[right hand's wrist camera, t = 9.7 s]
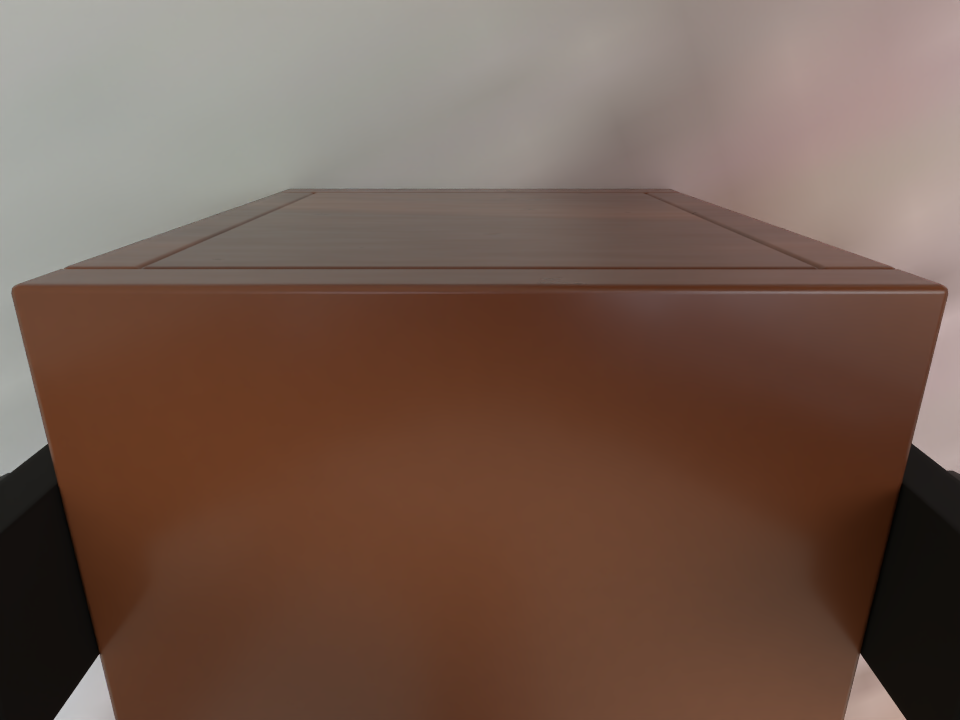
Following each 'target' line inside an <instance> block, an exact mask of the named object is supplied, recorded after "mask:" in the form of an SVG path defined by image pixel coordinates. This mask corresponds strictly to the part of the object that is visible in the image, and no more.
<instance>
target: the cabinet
mask: <svg viewBox="0 0 960 720" xmlns="http://www.w3.org/2000/svg"><path fill="white" fill-rule="evenodd" d="M947 296H948V289H947V288H946V287H945V286H943V285H941V284H939V283H936V282H933V281H930V280H927V279H924V278H921V277H919V276H916V275H913V274H910V273H907V272H904V271H901V270H899V269H895V268H893V267H891V266H888V265H885V264H882V263H879V262H877V261H874V260H871V259H868V258H865V257H862V256H860V255H857V254H854V253H851V252H848V251H845V250H842V249H840V248H837V247H834V246H831V245H828V244H825V243H822V242H820V241H817V240H814V239H811V238H808V237H805V236H802V235H800V234H797V233H794V232H791V231H788V230H785V229H782V228H780V227H777V226H774V225H771V224H768V223H765V222H762V221H760V220H757V219H754V218H751V217H748V216H745V215H742V214H740V213H737V212H734V211H731V210H728V209H725V208H722V207H720V206H717V205H714V204H711V203H708V202H705V201H702V200H700V199H697V198H694V197H691V196H688V195H685V194H682V193H680V192H677V191H674V190H671V189H288V190H285V191H282V192H280V193H277V194H274V195H271V196H268V197H265V198H262V199H260V200H257V201H254V202H251V203H248V204H245V205H242V206H239V207H237V208H234V209H231V210H228V211H225V212H222V213H219V214H217V215H214V216H211V217H208V218H205V219H202V220H199V221H196V222H194V223H191V224H188V225H185V226H182V227H179V228H176V229H174V230H171V231H168V232H165V233H162V234H159V235H156V236H153V237H151V238H148V239H145V240H142V241H139V242H136V243H133V244H131V245H128V246H125V247H122V248H119V249H116V250H113V251H110V252H108V253H105V254H102V255H99V256H96V257H93V258H90V259H88V260H85V261H82V262H79V263H76V264H73V265H70V266H68V267H66V268H64V269H60V270H57V271H54V272H51V273H49V274H46V275H43V276H40V277H37V278H34V279H31V280H29V281H26V282H23V283H20V284H18V285H15V286H14V287H13V288H12V298H13V302H14V306H15V310H16V314H17V318H18V322H19V326H20V330H21V334H22V339H23V343H24V347H25V351H26V355H27V359H28V363H29V367H30V371H31V375H32V380H33V384H34V388H35V392H36V396H37V400H38V404H39V408H40V412H41V416H42V420H43V425H44V429H45V433H46V437H47V441H48V445H49V449H50V453H51V457H52V461H53V465H54V470H55V474H56V478H57V482H58V486H59V490H60V494H61V498H62V502H63V506H64V511H65V515H66V519H67V523H68V527H69V531H70V535H71V539H72V543H73V547H74V551H75V556H76V560H77V564H78V568H79V572H80V576H81V580H82V584H83V588H84V592H85V596H86V601H87V605H88V609H89V613H90V617H91V621H92V625H93V629H94V633H95V637H96V641H97V646H98V650H99V654H100V658H101V662H102V666H103V670H104V674H105V678H106V682H107V687H108V691H109V695H110V699H111V703H112V707H113V711H114V715H115V719H116V720H844V717H845V713H846V708H847V704H848V700H849V696H850V692H851V688H852V684H853V680H854V676H855V672H856V668H857V664H858V659H859V655H860V651H861V647H862V643H863V639H864V635H865V631H866V627H867V623H868V619H869V615H870V611H871V606H872V602H873V598H874V594H875V590H876V586H877V582H878V578H879V574H880V570H881V566H882V562H883V558H884V553H885V549H886V545H887V541H888V537H889V533H890V529H891V525H892V521H893V517H894V513H895V509H896V504H897V500H898V496H899V492H900V488H901V484H902V480H903V476H904V472H905V468H906V464H907V460H908V456H909V451H910V447H911V443H912V439H913V435H914V431H915V427H916V423H917V419H918V415H919V411H920V407H921V402H922V398H923V394H924V390H925V386H926V382H927V378H928V374H929V370H930V366H931V362H932V358H933V354H934V349H935V345H936V341H937V337H938V333H939V329H940V325H941V321H942V317H943V313H944V309H945V305H946V300H947Z"/></svg>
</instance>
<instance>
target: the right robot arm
mask: <svg viewBox="0 0 960 720" xmlns="http://www.w3.org/2000/svg"><path fill="white" fill-rule="evenodd" d="M860 654H861V655H862V656H863V658H864V659H865V661H866V662H867V664H868V665H869V667H870V668H871V669H872V671H873V672H874V674H875V675H876V677H877V678H878V679H879V681H880V682H881V684H882V685H883V687H884V688H885V689H886V691H887V692H888V694H889V695H890V697H891V698H892V700H893V701H894V702H895V704H896V705H897V707H898V708H899V710H900V711H901V712H902V714H903V715H904V717H905V718H906V720H960V474H958V473H956V472H954V471H946V470H945V469H944V468H942V467H941V466H940V465H939V464H937V463H936V462H935V461H933V460H932V459H931V458H930V457H928V456H927V455H926V454H924V453H923V452H922V451H921V450H919V449H918V448H917V447H915V446H914V445H913V444H912V443H911V447H910V451H909V456H908V460H907V464H906V468H905V472H904V476H903V480H902V484H901V488H900V492H899V496H898V500H897V504H896V509H895V513H894V517H893V521H892V525H891V529H890V533H889V537H888V541H887V545H886V549H885V553H884V558H883V562H882V566H881V570H880V574H879V578H878V582H877V586H876V590H875V594H874V598H873V602H872V606H871V611H870V615H869V619H868V623H867V627H866V631H865V635H864V639H863V643H862V647H861V651H860ZM98 655H99V650H98V646H97V641H96V637H95V633H94V629H93V625H92V621H91V617H90V613H89V609H88V605H87V601H86V596H85V592H84V588H83V584H82V580H81V576H80V572H79V568H78V564H77V560H76V556H75V551H74V547H73V543H72V539H71V535H70V531H69V527H68V523H67V519H66V515H65V511H64V506H63V502H62V498H61V494H60V490H59V486H58V482H57V478H56V474H55V470H54V465H53V461H52V457H51V453H50V449H49V445H48V444H47V445H46V446H45V447H43V448H42V449H41V450H39V451H38V452H37V453H36V454H34V455H33V456H32V457H30V458H29V459H28V460H27V461H25V462H24V463H23V464H21V465H20V466H19V467H18V468H16V469H15V470H14V471H12V472H11V473H7V474H5V475H3V476H1V477H0V720H54V718H55V717H56V715H57V714H58V712H59V711H60V710H61V708H62V707H63V705H64V704H65V702H66V701H67V700H68V698H69V697H70V695H71V694H72V692H73V691H74V690H75V688H76V687H77V685H78V684H79V682H80V681H81V679H82V678H83V677H84V675H85V674H86V672H87V671H88V669H89V668H90V667H91V665H92V664H93V662H94V661H95V659H96V658H97V657H98Z"/></svg>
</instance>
